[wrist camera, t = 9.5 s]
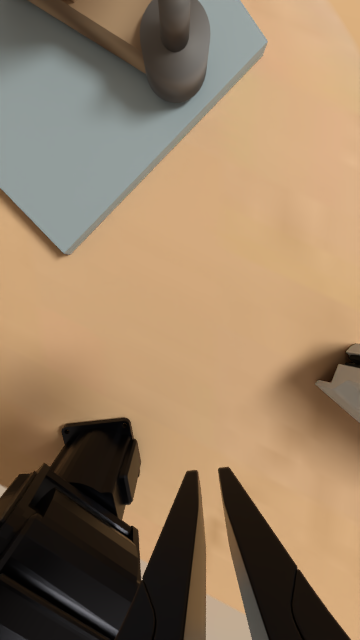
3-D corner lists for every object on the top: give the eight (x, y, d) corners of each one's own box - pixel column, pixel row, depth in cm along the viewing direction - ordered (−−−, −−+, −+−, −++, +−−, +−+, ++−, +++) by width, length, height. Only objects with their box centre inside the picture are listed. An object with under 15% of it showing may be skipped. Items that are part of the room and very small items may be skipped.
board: (70, 254, 18) (63, 253, 17) (-72, 107, 16) (-88, 97, 15) (262, 55, 16) (267, 41, 15) (120, -150, 14) (116, -183, 13)
